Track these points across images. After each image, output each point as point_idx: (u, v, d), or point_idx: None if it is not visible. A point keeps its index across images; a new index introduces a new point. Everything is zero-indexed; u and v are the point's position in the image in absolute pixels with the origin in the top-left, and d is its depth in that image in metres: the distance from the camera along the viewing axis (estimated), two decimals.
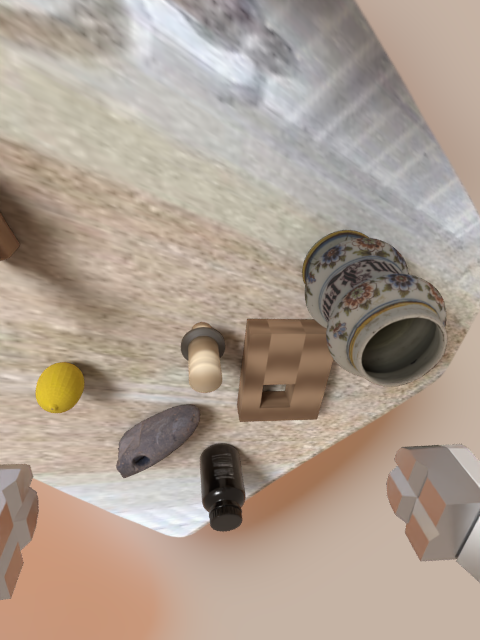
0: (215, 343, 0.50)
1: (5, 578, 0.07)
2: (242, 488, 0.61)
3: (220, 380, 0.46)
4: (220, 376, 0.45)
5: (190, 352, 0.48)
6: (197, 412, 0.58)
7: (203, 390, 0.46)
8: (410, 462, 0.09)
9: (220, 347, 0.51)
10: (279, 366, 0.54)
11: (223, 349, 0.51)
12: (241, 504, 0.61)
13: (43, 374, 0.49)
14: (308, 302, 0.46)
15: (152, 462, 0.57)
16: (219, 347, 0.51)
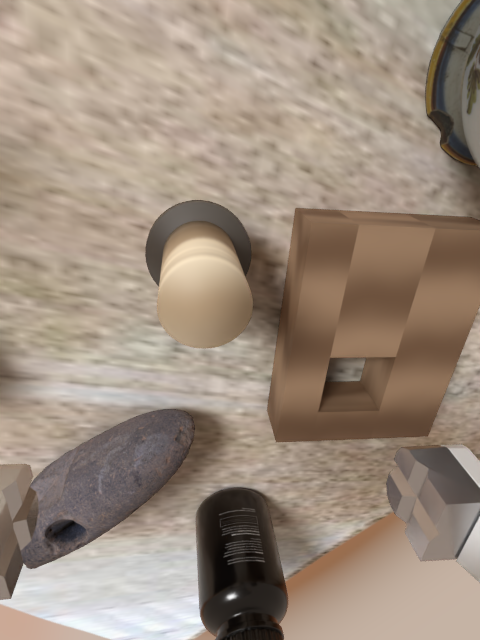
0: (229, 238, 0.20)
1: (5, 578, 0.07)
2: (281, 582, 0.30)
3: (247, 308, 0.16)
4: (248, 295, 0.16)
5: (166, 251, 0.19)
6: (188, 423, 0.28)
7: (200, 340, 0.16)
8: (410, 462, 0.09)
9: (240, 256, 0.21)
10: (367, 313, 0.25)
11: (247, 262, 0.22)
12: (281, 618, 0.30)
13: None
14: None
15: (90, 534, 0.26)
16: (238, 256, 0.21)
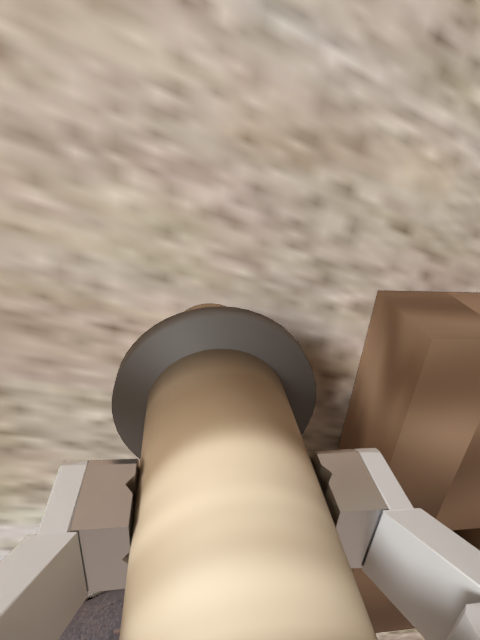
0: (279, 386, 0.10)
1: None
2: None
3: None
4: None
5: (149, 440, 0.08)
6: None
7: None
8: (317, 467, 0.08)
9: (294, 404, 0.11)
10: None
11: (307, 412, 0.11)
12: None
13: None
14: None
15: None
16: (290, 405, 0.11)
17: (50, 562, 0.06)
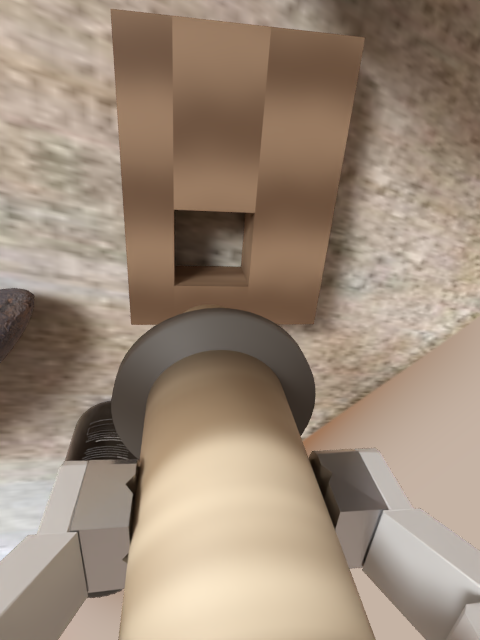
0: (278, 387, 0.10)
1: None
2: None
3: None
4: None
5: (148, 442, 0.08)
6: (22, 297, 0.24)
7: None
8: (317, 467, 0.08)
9: (294, 405, 0.11)
10: (208, 148, 0.21)
11: (306, 413, 0.11)
12: None
13: None
14: None
15: None
16: (290, 406, 0.11)
17: (50, 562, 0.06)
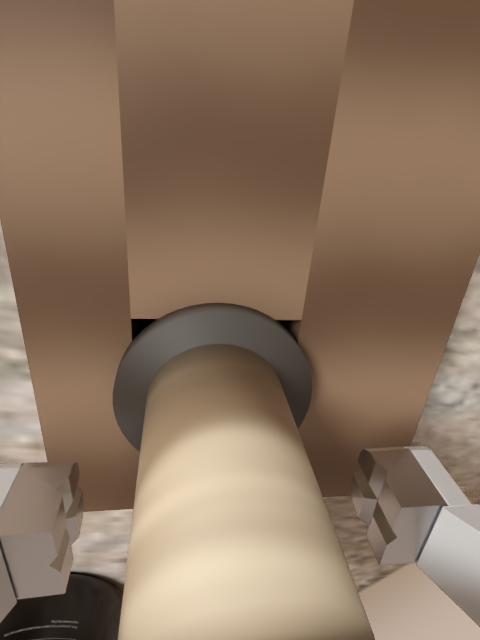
0: (275, 380, 0.10)
1: (61, 573, 0.07)
2: None
3: None
4: None
5: (148, 432, 0.09)
6: None
7: None
8: (370, 464, 0.09)
9: (291, 398, 0.12)
10: (206, 194, 0.09)
11: (303, 407, 0.12)
12: None
13: None
14: None
15: None
16: (287, 399, 0.11)
17: None
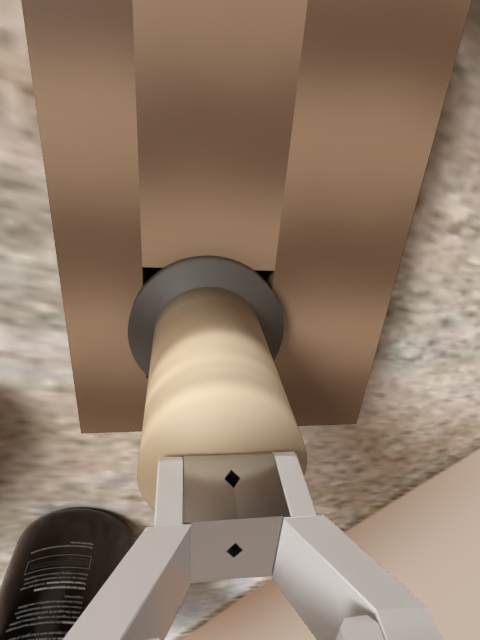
0: (253, 314, 0.13)
1: (233, 559, 0.07)
2: None
3: None
4: (299, 450, 0.09)
5: (157, 344, 0.12)
6: None
7: None
8: (229, 471, 0.08)
9: (267, 334, 0.15)
10: (199, 169, 0.12)
11: (277, 341, 0.15)
12: None
13: None
14: None
15: None
16: (264, 334, 0.15)
17: (175, 552, 0.06)
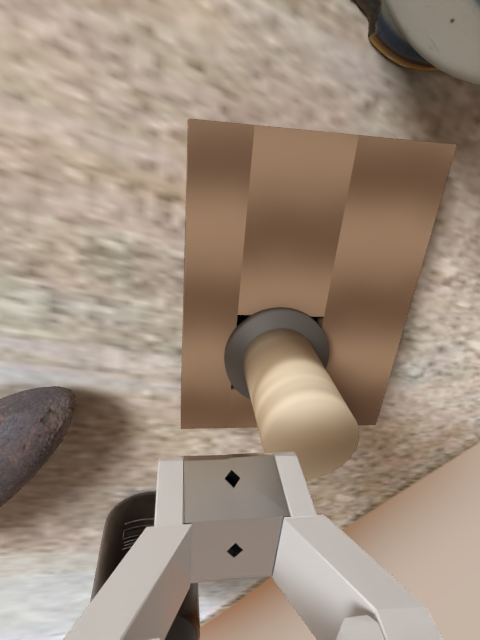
0: (311, 347, 0.20)
1: (233, 559, 0.07)
2: (189, 611, 0.23)
3: (353, 442, 0.16)
4: (355, 430, 0.15)
5: (255, 367, 0.18)
6: (65, 401, 0.22)
7: None
8: (229, 471, 0.08)
9: (318, 359, 0.21)
10: (280, 254, 0.19)
11: (324, 364, 0.21)
12: None
13: None
14: None
15: None
16: None
17: (175, 552, 0.06)
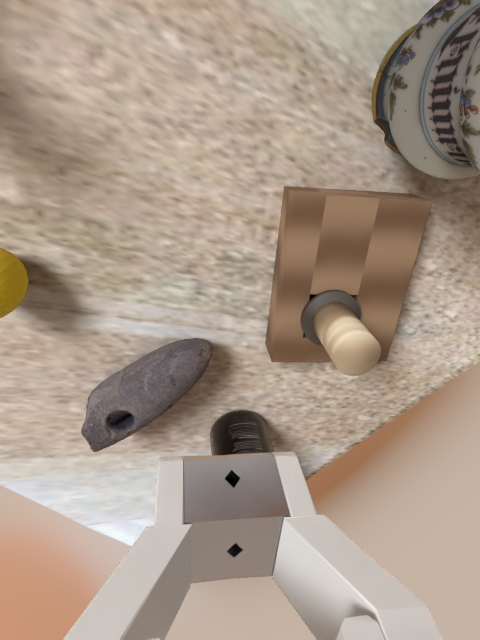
0: None
1: (233, 559, 0.08)
2: None
3: (377, 356, 0.32)
4: (379, 349, 0.31)
5: (323, 321, 0.34)
6: (208, 345, 0.38)
7: (351, 371, 0.32)
8: (230, 471, 0.08)
9: None
10: (335, 260, 0.35)
11: None
12: None
13: None
14: (397, 108, 0.27)
15: (138, 422, 0.36)
16: None
17: (175, 552, 0.06)
